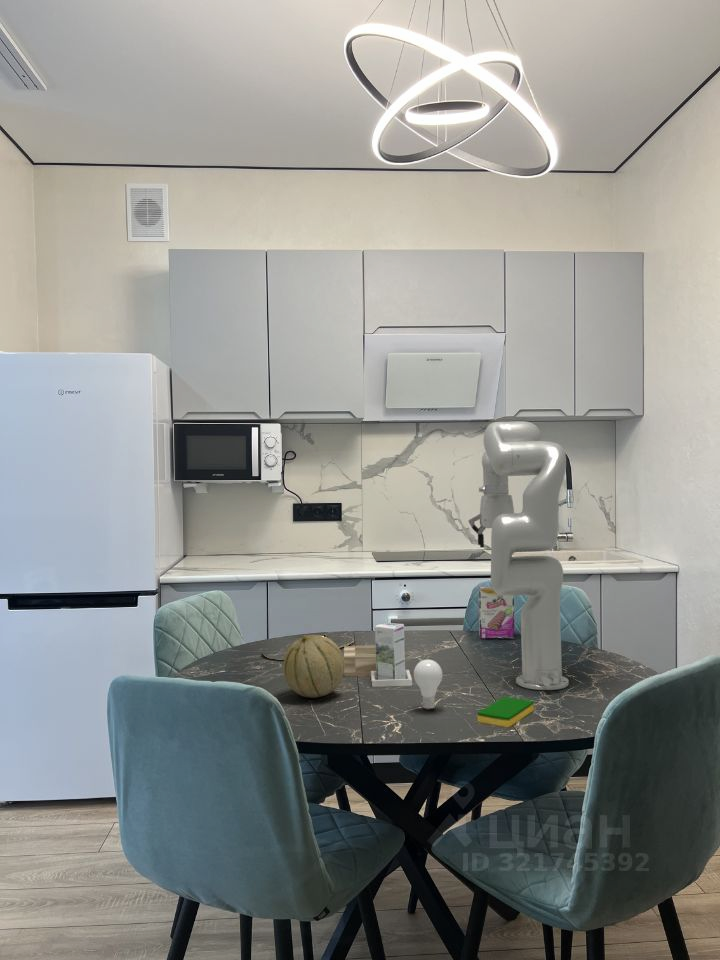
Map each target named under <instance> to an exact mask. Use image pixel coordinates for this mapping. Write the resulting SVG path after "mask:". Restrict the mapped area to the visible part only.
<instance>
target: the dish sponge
mask: <svg viewBox="0 0 720 960" xmlns="http://www.w3.org/2000/svg"><path fill="white" fill-rule="evenodd" d="M534 704H535V702H534V701H533V700H530V699H529V700H528V699H522V698H515V697H508V696H503V697H501V698H500V699H498V700H496V701H495V702H493V703H491V704H489V705H488V706H486V707H485V708H482V709H481V710H480V711H478V712H477V722H478V723H482V724H487V725H492V726H497V727H505V728H510V727H512V726H513V725H514V724H516V723H517V722H519V721H521V720H522V719H524V717H526V716H528V715H529V714H531V713H532V712H534V711H535V705H534Z"/></svg>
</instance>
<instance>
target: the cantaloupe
mask: <svg viewBox="0 0 720 960" xmlns="http://www.w3.org/2000/svg"><path fill="white" fill-rule="evenodd" d="M321 635H322V634H310V635H304V636H302V637H301V638H298V639H299V640H297V639H296V640H297V641H295V642H294V643H293V644H292V645H291V646H290V647H288V649H287V650H286V653H285V655H284V657H283V658H284V661H282V672H283V677H284V680H285V681H286V684H287V685H288V686H289V688H290V689H291V690H292V691H293V692H295V693H296V694H298V695H299V696H301V697H305V698H311V699H315V698H321V697H324V696H326V695H329V694H331V693H332V692H334V691H335V690H336V689H337V688H338V687H339V685H340V683H341V682H342V679H343V678H344V669H345V662H344V653H342V651H341V650H342V649H339V646H338V645H337V644H336V642H334V640H333V639H329V638H327V637H324V636H321Z"/></svg>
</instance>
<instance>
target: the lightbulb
mask: <svg viewBox="0 0 720 960" xmlns="http://www.w3.org/2000/svg"><path fill="white" fill-rule="evenodd" d="M413 678H414V681H415V683H416V685H417V686H418V687H419V689H420V694H421V696H422V707H423V708H424V709H425V710H427V711H431V710H432V709H434V708H435V707H436V698H435V697H436V694H437V689H438V687H439V685H440V684H441V682H442V679H443V670H442V667H441V666H440V664H439V663H438V662H437V661H436V660H434V659H423V660H420V661H419V662H417V664H416V665H415V668H414V670H413Z"/></svg>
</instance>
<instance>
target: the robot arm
mask: <svg viewBox="0 0 720 960" xmlns="http://www.w3.org/2000/svg"><path fill="white" fill-rule="evenodd" d="M541 434H542V433H541V431H540V429H539V427H538V426H537V425H535V424H534V423H533V422H529V421H523V420H522V421H519V420H518V421H495V422H494V421H493V422H491V423H490V424H488V425H487V427H486V428H485V431H484V434H483V446H484V450H485V451H484V452H483V453H482V456H481V466H482V471H483V472H482V475H483V478H482V480H483V485H482V486H481V487H478V492H480V493H483V495H481V498H480V504H479V505H480V507H479V514H477V515H476V516H474V517H472V518H470V519H468V521H467V522H468V523H469V525H470V527H471V529H472V530H473V531H474V533H476V534H477V545H479V548H485V540H484V538H485V537H484V534H483V533H484V531H485V530H486V529H491V534H490V535H491V536H490V537H491V541H490V543H491V544H490V580H491V581H490V583H491V587H492V588H493V590H494V591H495V592H496V593H497V594H499V595H506V596H508V595H510V596H511V595H514V596H529V597H528V598H527V600H526V601H525V603H524V604H523V606H522V609H521V611H520V633H521V634H520V638H521V639H520V641H521V671H522V672H521V674H519V675H518V676H517V677H516V678H515V682H516V685H518V686H519V687H521V688H524V689H528V690H536V691H538V690H539V691H554V690H555V691H556V690H561V689H562V690H563V689H565V688H568V686H569V684H570V683H569V682H570V681H569V678H567V677H565V676H563V669H562V668H563V666H562V664H563V663H562V662H563V661H562V636H561V635H562V634H561V633H562V632H561V631H562V630H561V595H562V588H563V581H564V568H563V566H562V564H561V562H560V561H559V560H558V559H557V558H555V557H553V556H549V555H524V556H523V555H521V556H513V555H514V553H528V552H529V553H531V552H533V553H534V552H536V553H537V552H545V551H550V550H553V549H554V548H555V546H556V545H557V542H558V531H559V529H558V528H559V498H560V492H561V488H562V485H563V481H564V479H565V475H566V470H567V455H566V451H565V449H564V447H563V446H562V445H560V444H559V443H556V442H553V441H547V440H546V441H545V440H544V441H543V440H541V438H542V435H541ZM515 476H516V477H517V476H518V477H520V476H522V477H523V476H535V477H533V478H532V479H531V481H530V482H529V483H528V485H527V486H526V487H525V489H524V491H523V493H522V510H521V512H518V513H516V512H515V510H514V509H515V508H514V501H513V495H512V494H509V477H515ZM478 521H479V525H480V526H479V527H477V526H476V524H475V522H478Z"/></svg>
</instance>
